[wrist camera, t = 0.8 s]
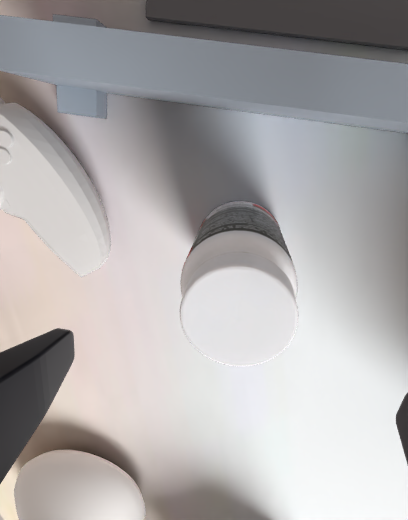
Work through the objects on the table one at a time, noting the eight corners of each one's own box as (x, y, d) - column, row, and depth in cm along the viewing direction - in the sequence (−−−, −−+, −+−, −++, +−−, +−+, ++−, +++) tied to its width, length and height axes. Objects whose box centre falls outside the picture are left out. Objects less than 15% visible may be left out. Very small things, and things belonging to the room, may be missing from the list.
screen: (500, 74, 14) (648, 41, 9) (460, 167, 15) (566, 184, 10) (66, 22, 15) (-24, -33, 10) (70, 113, 17) (-7, 105, 12)
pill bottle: (187, 215, 18) (143, 276, 10) (267, 187, 17) (287, 233, 9) (214, 286, 19) (195, 386, 12) (290, 265, 18) (323, 360, 11)
